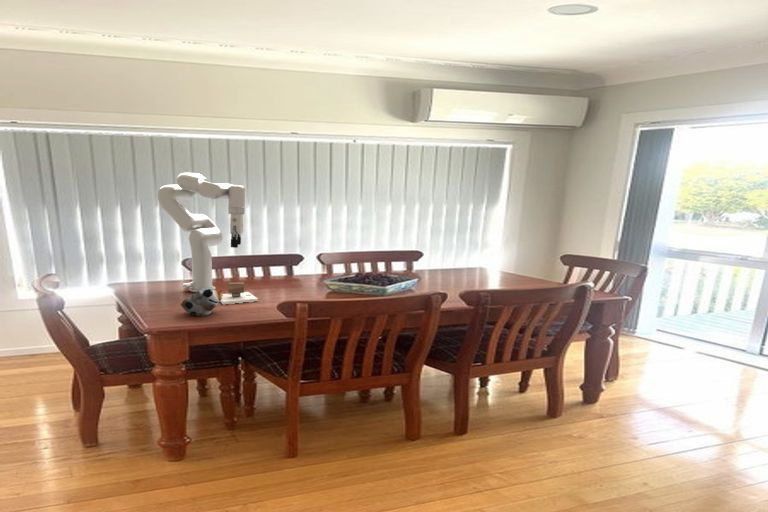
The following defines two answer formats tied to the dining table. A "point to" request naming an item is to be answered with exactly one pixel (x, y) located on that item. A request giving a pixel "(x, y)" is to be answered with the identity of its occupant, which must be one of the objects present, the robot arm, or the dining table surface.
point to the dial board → (238, 298)
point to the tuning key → (236, 289)
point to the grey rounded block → (202, 302)
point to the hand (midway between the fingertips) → (235, 245)
